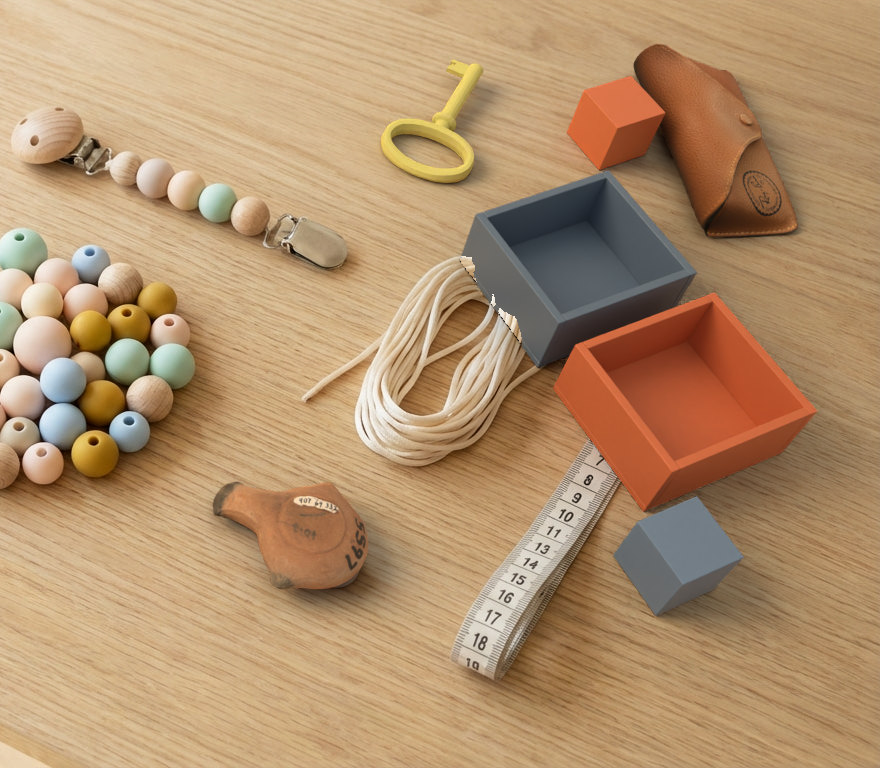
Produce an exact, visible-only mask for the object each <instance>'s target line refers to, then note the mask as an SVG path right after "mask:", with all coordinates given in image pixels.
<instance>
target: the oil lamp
mask: <svg viewBox="0 0 880 768" xmlns="http://www.w3.org/2000/svg"><path fill="white" fill-rule="evenodd" d="M212 501H213V502H212V510H213V512H212V513H213V515H214V516H215V517H218V518H219V517H221V518H223V519H228V520H232V521H234V522H236V523H238V524H241V525H242V526H244V527H246V528H247V529H249V530H251V531H252V532H254V533H255V535H256V537H257V542H258V546H259V547H258V548H259V551H260V554H261V556H262V559H263V561H264V564H265V565H266V568H267V570H268V571H269V580H270V583H271V586H272V587H274V588H276V589H279V590H289V589H309V590H323V589H331V588H336V587H338V586H340V585H343V584H345V583H346V582H348V581H350V580H351V579H352V578H354V577H355V576H356V574H358V573H359V571H360V570H361V568H362V567H363V566H364V563H365V561H366V559H367V555H368V553H369V538H368V532H367V529H366V525H365V523H364V521H363V519H362V518H361V516H360V515H359V513H358V512H357V510H356V509H355V508H354V507H353V506H352V505H351V504H350V502H349V501H348V500H347V499H346V497H344V496H343V495H342V493H341V492H340V490H339V489H338V488H337V486H335V484H334V483H332V482H329V481H323V482H319V483H316V484H313V485H312V484H311V485H306V486H299V487H294V488H290V489H287V490H282V491H275V490H269V489H262V488H257V487H250V486H247V485H245V484H244V483H242V482H239V481H233V482H228V483H226V484H224V485H223V486H222V487H221V488H220V489H219V490H218V491H217V493H216V494H215V496H214V498H213V500H212Z"/></svg>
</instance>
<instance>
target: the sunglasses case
mask: <svg viewBox="0 0 880 768" xmlns="http://www.w3.org/2000/svg"><path fill="white" fill-rule="evenodd" d="M632 66H633V72H634V75H635V77H636V79H637V80H638V84H639V85H640V86H641V87H642V88H643V89H644V90H645V91H646V92H647V93H648V94H649V95H650V97H651V98H652V99H653V100H654V101H655V102H656V103H657V104H658V105H659V106H660V107H661V108H662V109H663V110H664V112H665V115H664V117H663V119H662V121H661V123H660V125H659V128H660V130H661V133H662V136H663V139H664V142H665V143H666V145H667V147H668V150H669V152H670V154H671V157H672V158H673V162H674V164H675V167H676V170H677V172H678V174H679V177H680V179H681V183H682V184H683V186H684V187H683V188H684V190H685V192H686V194H687V197H688V200H689V203H690V205H691V208H692V210H693V213H694V215H695V217H696V220H697V222H698V224H699V226H700V227H701V228H702V230H703V232H704V234H705V236H706V237H708V238H713V239H716V238H724V239H727V238H729V239H730V238H731V239H733V238H735V239H737V238H739V239H740V238H756V237H757V238H758V237H767V236H775V235H786V234H792V233H794V232H795V231H796V230H797V229H798V228H799V224H798V219H797V214H796V212H795V209H794V206H793V203H792V200H791V199H790V196H789V194H788V191H787V188H786V186H785V184H784V181H783V179H782V177H781V175H780V172H779V170H778V168H777V166H776V164H775V162H774V160H773V156H772V155H771V152H770V150H769V149H768V146H767V144H766V142H765V140H764V139H763V131H762V129H761V125H760V123H759V121H758V119H757V117H756V116H755V114H754V112H753V111H752V110H751V109H750V107H749V105H748V103H747V100H746V97H745V96H744V94H743V91H742V90H741V88H740V86H739V83H738V81H737V79H736V77H735V76H734V74H732V73H731V72H730V71H729V70H727V69H719V68H716V67H713V66H710V65H708V64H706V63H703V62H700V61H697V60H695V59H693V58H689V57H687V56H685V55H683V54H681V53H680V52H678V51H676V50H675V49H673V48H671V47H670V46H669V45H667V44H665V43H655V44H652V45H650V46H648V47H646V48H645V49H643V50H642V51H641V52H640V53H639V54H638V55H637V56H636V58H635V60H634V62H633V65H632Z"/></svg>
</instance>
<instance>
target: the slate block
mask: <svg viewBox="0 0 880 768" xmlns="http://www.w3.org/2000/svg"><path fill="white" fill-rule="evenodd" d="M612 557H613V558H614V559H615V560H616V562H617V563H618V565H619V566H620V568H621V569H622V571H623V572H624V573H625V575H626V576H627V578H628V579H629V580H630V582H631V583H632V585H633V586H634V588H635V589H636V590H637V592H638V593H639V595H640V597H642V599H643V600H644V602H645V603H646V604H647V606H648V608H649V609H650V610H651V611H652V613H653V615H654V616H656V617H657V616H659V615H662V614H664V613H666V612H668V611H670V610H672V609H675V608H677V607H679V606H681V605H683V604H687V603H689V602H690V601H693V600H695V599H697V598H698V597H701V596H703V595H706V594H708V593H710V592H712V591H714V590H715V589H716V588H717V587H718V586H719V585H720V584H721V582H723V581H724V579H726V577H728V575H729V574H730V573H731V572H732V571H733V570H734V569H735V568H736V567H737V565H739V564H740V562H742V560H743V559H744V558H745V557H744V555H743V554H742V552H741V551H740V550H739V548H738V547H737V546H736V545H735V543H734V541H733V540H731V538H730V537H729V535H727V533H726V531H725V530H724V529H723V528H722V527H721V525H720V523H719V522H718V521H717V520H716V518H715V517H714V516H713V514H712V513H711V512H710V511H709V510H708V508H707V507H706V506H705V504H704V503H703V502H702V500H701V499H700V498H699V496H694V497H691V498H689V499H687V500H684V501H682V502H679V503H678V504H677V503H676V504H675V505H673V506H670V507H668V508H665V509H663V510H660V511H658V512H657V513H656V512H655V513H654V514H651V515H649V516H647V517H645V518H643V519H640V520H638V521H636V523H635V524H634V525H633V527H632V528H631V529H630V531H629V532H628V533H627V535H626V537H625V538H624V539H623V540H622V542H621V543H620V545H618V548H617V549H616V550H615V551H614V553H613V554H612Z"/></svg>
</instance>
